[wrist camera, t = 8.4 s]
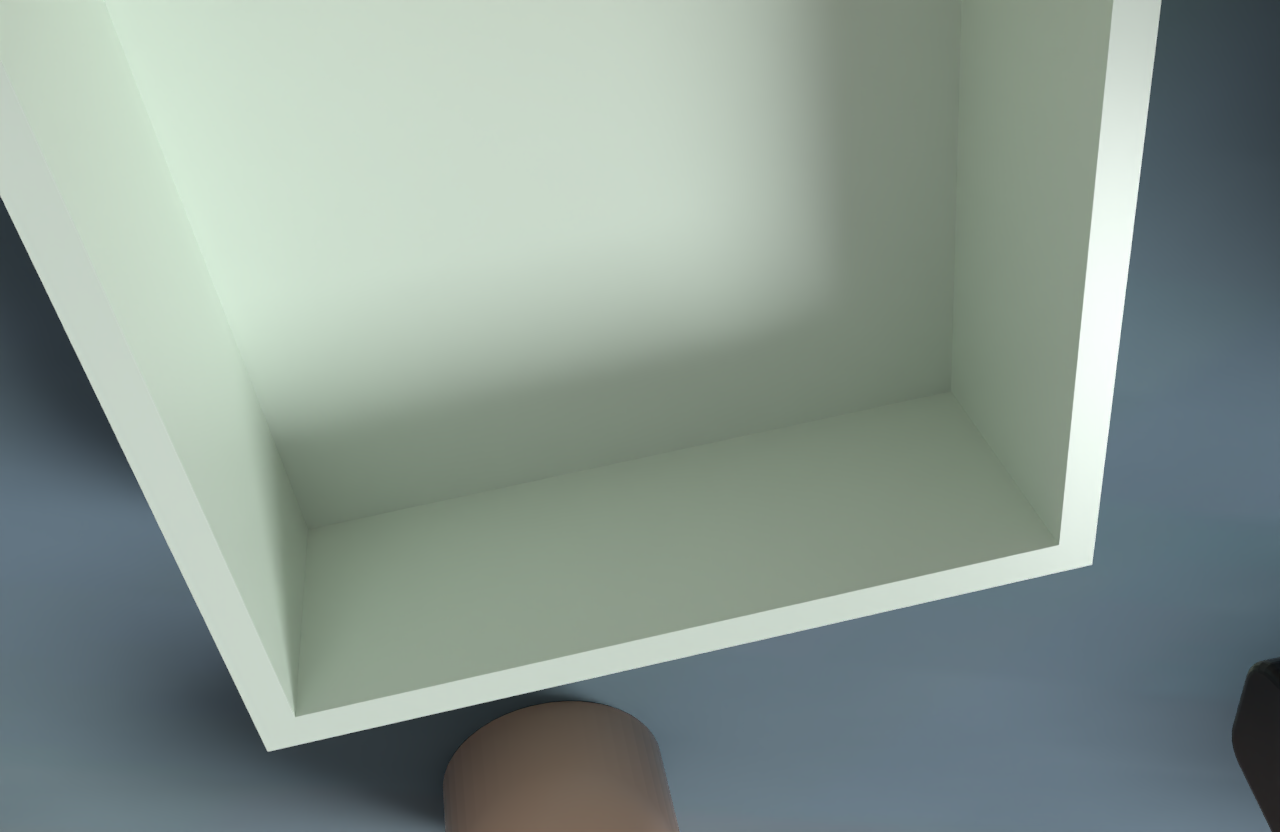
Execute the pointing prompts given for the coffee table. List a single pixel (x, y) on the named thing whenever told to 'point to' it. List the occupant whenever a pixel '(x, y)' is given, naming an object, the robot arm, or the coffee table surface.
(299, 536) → the box
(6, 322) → the coffee table surface
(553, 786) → the cylinder
